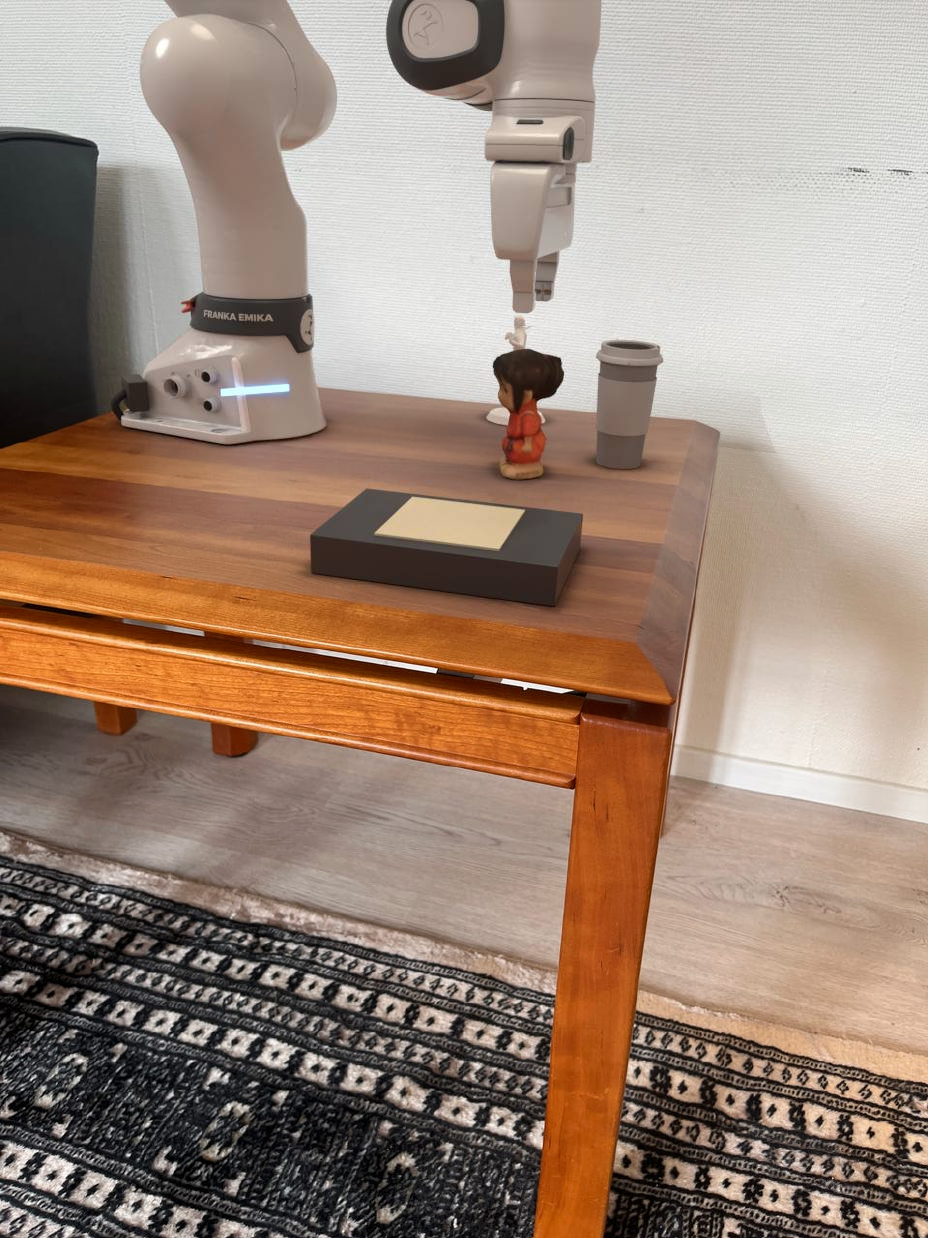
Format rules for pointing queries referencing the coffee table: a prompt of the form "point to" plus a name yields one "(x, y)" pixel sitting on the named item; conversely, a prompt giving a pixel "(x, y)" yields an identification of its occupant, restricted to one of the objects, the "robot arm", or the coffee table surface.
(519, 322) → the figurine
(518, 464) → the figurine
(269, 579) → the coffee table surface
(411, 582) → the block
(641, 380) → the cup
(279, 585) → the coffee table surface
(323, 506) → the coffee table surface
